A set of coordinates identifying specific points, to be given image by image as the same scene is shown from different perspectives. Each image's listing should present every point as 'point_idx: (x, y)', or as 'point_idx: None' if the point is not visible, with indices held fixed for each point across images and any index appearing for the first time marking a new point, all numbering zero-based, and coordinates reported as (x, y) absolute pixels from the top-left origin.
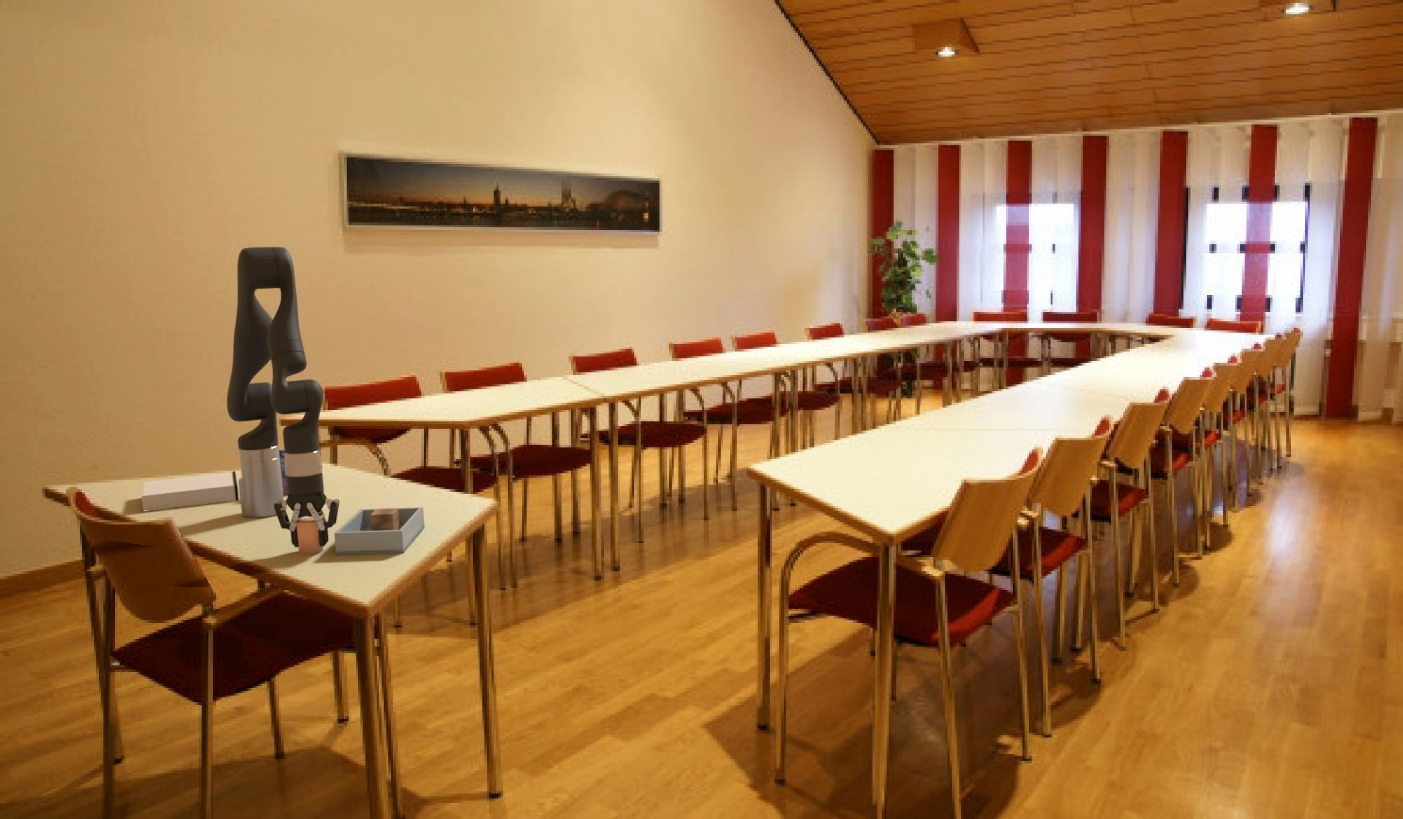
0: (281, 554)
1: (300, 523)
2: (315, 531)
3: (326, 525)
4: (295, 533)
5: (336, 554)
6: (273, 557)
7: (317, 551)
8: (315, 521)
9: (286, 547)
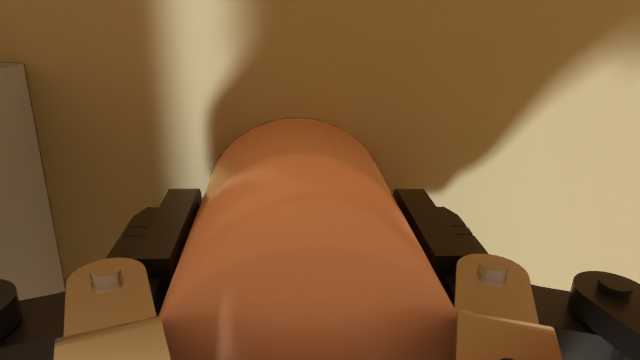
0: (506, 149)
1: (382, 266)
2: (197, 237)
3: (47, 315)
4: (438, 244)
5: (17, 65)
6: (554, 78)
7: (223, 156)
8: (153, 317)
9: None
